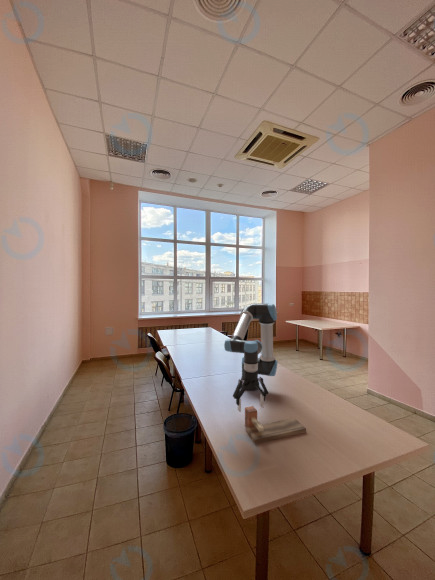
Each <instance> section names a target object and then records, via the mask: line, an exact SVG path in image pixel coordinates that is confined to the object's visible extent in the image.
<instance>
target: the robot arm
mask: <svg viewBox="0 0 435 580" xmlns="http://www.w3.org/2000/svg"><path fill="white" fill-rule="evenodd" d="M253 320H258V324H260V340H259V339H255V340H254V339H253V340H244V339H245V336H246V334H247V331H248V328H249V326H250V323H251V322H252V321H253ZM277 320H278V311H277V307H276V305H275V304H273V303H259V302H258V303H255V302H254V303H250V304H248V305H245V307H244V308H242V310H241V311H240V314H239V319H238V322H237V324H236V326H235V329H234V332H233V333H232V336H231V337H230V338H226V339H225V341H224V345H223V346H224V351H225V352H230V353H239V354H244V355H243V357H242V358H241V378H240V379H238V381H237V382H238V383H237V385H236V388H235V390H234V392H233V394H232V397H233V399H235V404H236V405H237V411H238V412H239V413H241V411H242V399H241V398H242V396H243V395H244V393H245V392H246V391H256V390H258V391H259V393H260V396H259V398H260V399H259V402H260V403H259V405H260V407H261V408H262V409H264V407H265V404H264V403H265V401H266V396H267V395H269V391H268V389H267V386H266V385H265V383H264V378H263V377H261V376H267V377H275V376H276V374H277V370H278V363H279V362H278V360H277V359H276V357H275V356H274V332H273V330H274V324H275V323H276V321H277ZM259 354H260V356H259ZM259 375H261V376H259ZM260 386H261V387H260Z"/></svg>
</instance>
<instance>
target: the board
mask: <svg viewBox="0 0 435 580" xmlns="http://www.w3.org/2000/svg"><path fill="white" fill-rule="evenodd" d="M261 425H262V426H263V427H264V432H262V436H260V432H259V430H258V429H257V428H256V426H252V427H246V431H245V432H246V433H247V435H248V436H249V437H250V439H251V441H252V442H253V443H254V444H260V443H264V442H268V441H273V440H277V439H281V438H287V437H290V436H294V435H295V436H296V435H299V434H303V433H307V427H306V426H304V425H303V424H302V423H301V422H300V421H299V420H298V419H297V418H296V417H293V418H288V419H284V420H277V421H274V422H268V423H263V424H261Z"/></svg>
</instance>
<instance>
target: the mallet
mask: <svg viewBox="0 0 435 580" xmlns="http://www.w3.org/2000/svg"><path fill="white" fill-rule="evenodd" d="M244 426H245V427H246V428H247V427H252V426H256V428H257V429H258V430H259V432H260V436H262V432H264V427H263V426H262V424H261V422H260V421H259V419H258V410H257V408H255V406H254V405H252V406H247V407H244Z"/></svg>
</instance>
